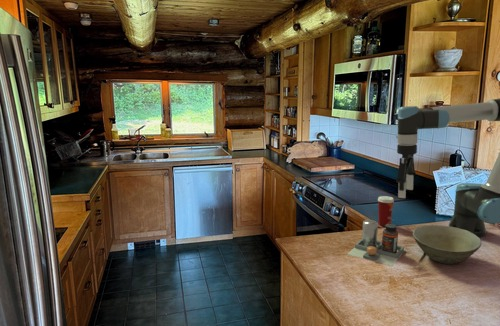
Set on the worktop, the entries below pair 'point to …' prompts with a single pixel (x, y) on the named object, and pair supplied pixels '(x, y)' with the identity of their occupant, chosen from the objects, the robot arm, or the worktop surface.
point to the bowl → (446, 243)
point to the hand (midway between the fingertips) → (405, 193)
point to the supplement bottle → (390, 239)
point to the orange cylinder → (371, 250)
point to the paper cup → (385, 210)
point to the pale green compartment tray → (377, 253)
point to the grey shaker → (369, 233)
